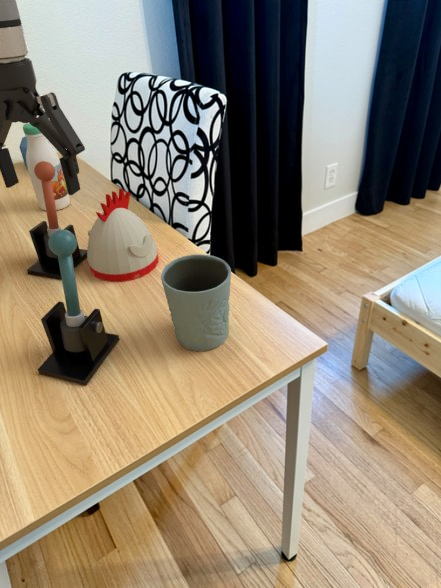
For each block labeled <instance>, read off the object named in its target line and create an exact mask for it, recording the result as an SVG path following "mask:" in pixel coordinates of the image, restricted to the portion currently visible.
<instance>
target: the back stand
mask: <svg viewBox="0 0 441 588" xmlns="http://www.w3.org/2000/svg"><path fill="white" fill-rule="evenodd" d="M48 227H49V224H48V221H47V220H42V221H40V223H37V224H36V225H35V226H34V227H32V228H31V229H30V230H28V232H29V235H30V239H31V242H32V245H33V248H34V251H35V254H36V256H37V261H36V262H34V263H33V264H32V265H31V266H30V267H29V268H27V269H26V273H27V275H32V276H37V277H42V278H48V279H53V280H60V281H62V278H61V272H60V266H59V260H58V258H53V257H48V256H47V254H46V248H45V242H44V235H46V234H48V231H47V228H48ZM63 229H64V230H68V231H70V232H71V233H73V235H74V236H75V237H76V240H77V247H76V249H75V251H74V252H73V253H72V259H73V266H74V270H75V269H76V268H77V267H78V266H79V265H80V264H82V262H84V260H85V259H86V258H87V249H83V248H80V246H79V243H78V239H77V235H76V232H75V227H74V225H73V224H68V225H67V226H65V227H64V228H63Z"/></svg>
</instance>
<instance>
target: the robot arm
mask: <svg viewBox="0 0 441 588" xmlns="http://www.w3.org/2000/svg"><path fill="white" fill-rule="evenodd" d="M22 24H23V23H22V20H21V15H20V12H19V9H18V3H17V0H0V173H1V176H2V179H3V182H4V185H5V188H8V189H11V188H12V187H14V186H16V185H17V184H19V183H20V181H19V178H18V175H17V172H16V168H15V166H14V162H13V158H12V156H11V154H10V149H9V148H8V147H6V146H7V145H6V144H5V143H6V140H7V137H8V135H9V132H10V130H11V127H12V124H13V123H22V124H29V123H30V124H31V125H32V126H33V127H36V128H37V129H38V130H39V131H40V132H41V133H42V134H43V135H44V136H45V137H46V139H47V140H48V141H49V143H50V145H51V146H52V147H53V148H55V150H56V151H57V152H58V153H59V154H60V155H61V156H62V157H60V158H59V160H60V164H61V167H62V171H63V175H64V179H65V183H66V187H67V190H68V194H69V196H73V195H74V194H76V193H77V192H79V191H80V190H81V185H80V182H79V177H78V175H79V174H80V167H79V163H78V159H77V155H79V154H81V153H82V152H84V151H85V150H86V147H85V145H84V143H83V142H82V140H81V138H80V137H79V136H78V134H77V132H76V130H75V129H74V127H73V126H72V124H71V123H70V121H69V120H68V118H67V116H66V115H65V113H64V112H63V110H62V109H61V106H60V104H59V100H58V98H57V95H56V93H55V92H52V91H51V92H49V93H46V94H39V92H38V91H37V82H38V81H37V80H38V79H37V77H36V73H35V69H34V66H33V61H32V60H31V59H30V58H29V57H27V56H28V55H29V54H30V49H29V47H28V43H27V38H26V36H25V32H24V28H23V25H22Z"/></svg>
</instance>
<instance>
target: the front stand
mask: <svg viewBox="0 0 441 588" xmlns="http://www.w3.org/2000/svg"><path fill="white" fill-rule="evenodd" d="M65 306H66V305H65V303H64V301H60V300H59V301H58V302H57V303H56V304H54V306H52V307H51V308H50V309H49V310H48V311H47V312H46V314H45V315H43V316H42V318H40V321H41V324H42V327H43V330H44V332H45V335H46V338H47V341H48V344H49V346H50V348H51V351H52V352H51V354H49V356H48V357H46V359H45V360H44V361H43V362H42V363H41V364H40V366H39V367H38V368H37V372H38V374H39V375H42V376H45V377H50V378H54V379H58V380H62V381H65V382H70V383H73V384H78V385H82V386H87V385H88V383H89V382H90V381H91V380H92V378H93V377H94V375H95V374H96V373H97V371H98V370H99V369H100V367H101V366H102V365H103V363H104V362H105V360H106V359H107V358H108V357H109V356H110V354H111V353H112V351H113V350H114V349H115V347H116V346H117V344H118V343H119V342H120V335H118V334H114V333H109V332H106V329H105V325H104V320H103V317H102V312H101V309H100V308H94V309H93V310H92V311H91V312H90V314H89V315H87V318H86V319H85V321H84V322H83V323H82V324H81V325H80V326H79V331H80V334H81V337H82V340H83V344H84V347H85V351H82V352H70V351H67V350H66V349H65V348H64V344H63V339H62V333H61V328H60V323H61V322H62V321H63V320H64V319H65V313H66V312H67V308H66V307H65Z"/></svg>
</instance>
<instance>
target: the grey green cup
mask: <svg viewBox="0 0 441 588" xmlns="http://www.w3.org/2000/svg"><path fill="white" fill-rule="evenodd" d="M160 279H161V284H162V288H163V291H164V293H165V299H166V300H167V302H166V303H167V305H168V309H169V310H168V311H169V312H170V314H169V315H170V317H171V323H172V325H173V328H174V334H175V337H176V340H177V342H178V344H179V345H180V346H182V347H184V348H185V349H187V350H190V351H195V352H205V351H208V352H209V351H211V350H215V349H217V348H218V347H219V346H221V345H223V343H224V342H225V341H227V339H228V336H229V328H230V327H229V326H230V325H229V323H230V319H229V316H230V303H229V301H230V295H231V282H232V281H231V279H232V268H231V267H230V265H229V264H228V262H226V260H224V259H222V258H220V257H217V256H215V255H211V254H198V253H197V254H196V253H195V254H188V255H184V256H181V257H178V258H175V259H174V260H172V261H170V262H168V263H167V264H166V265H165V266H164V268H163V269H162V271H161V275H160Z"/></svg>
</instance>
